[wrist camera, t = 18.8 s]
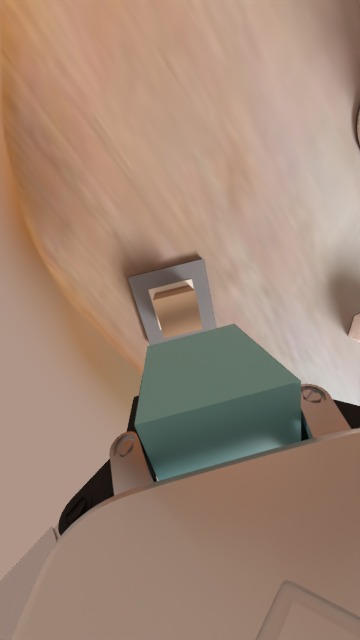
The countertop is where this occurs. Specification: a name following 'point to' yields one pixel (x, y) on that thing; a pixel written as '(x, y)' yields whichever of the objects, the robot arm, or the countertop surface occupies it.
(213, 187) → the countertop surface
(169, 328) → the walnut block
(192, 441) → the teal block
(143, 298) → the grey square plate
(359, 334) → the jar
